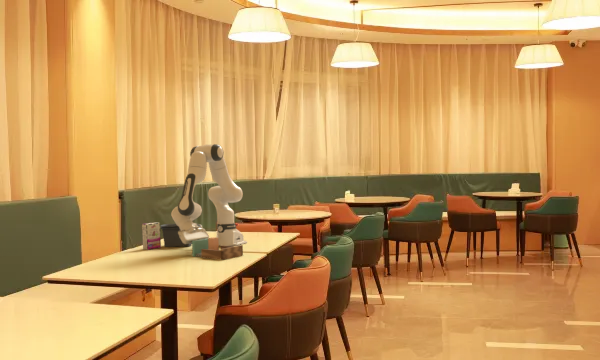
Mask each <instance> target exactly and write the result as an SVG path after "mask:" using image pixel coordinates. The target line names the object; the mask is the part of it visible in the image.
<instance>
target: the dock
mask: <svg viewBox="0 0 600 360" xmlns="http://www.w3.org/2000/svg"><path fill="white" fill-rule="evenodd" d="M243 245H244V244H241V245H234V246H224V245H221V246H220V249H219V250H210V249H201V257H200V258H202V259H209V260H210V259H211V260H221V261H223V260H229V259H232V258H233V257H234V258H237V257H242V255H243V256H244V253H243V252H244V249H243V248H244V247H243Z"/></svg>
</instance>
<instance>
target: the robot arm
mask: <svg viewBox="0 0 600 360" xmlns="http://www.w3.org/2000/svg"><path fill="white" fill-rule="evenodd" d="M224 152H225V151H224V149H223V147H222V146H221V145H220V144H215V143H214V144H202V145H195V146H194V147H192V148H191V150H190V153H189V155H190V156H189V157H190V158H189V163H188V168H187V175H186V176H185V180H184V184H183V189H182V194H181V197H180V199H179V202H178V203H177V206H175V207H174V208H172V211H171V213H170V215H171V217H172V220H173V222H174V224H176V225H177V226H179V228H180V230H181V231H178V234H179V237H180V239H181V241H182V242H183V243H184V244H189V243H192V241H196V240H202V239H208V238H210V236H209V233H208V232H207V231H206V229H205V228H203V225H202V224H200V223H197V222H193V221H195V220H196V219H198V218H199V217H200V216H201V215H202V213H203V208H202V205H200V204H199V203H197V202H195V201H194V200H193V195H194V190H195V187H196V185H197V184H200V183H202V182H203V181H204V180H205V178H206V175H207V167H208V168H209V171H210V175H211V178H212V181H213V182H215V183H216V184H217V185H216V186H212V187H210V188H209V189H208V192H207V195H208V196H207V197H208V199H209V200H210V201H211V202H212V203H213V205H214V206H215V209H216V210H215V211H216V215H217V223H216V229H217V231H216V236H215V237H217V238H218V241H219V246H220V247H221V245H224V246H239V245H240V244H241V245H244V244H247V243H248V241H247V240H245V239H244V235H243V233H242V232H241V231H240V230H239V229H237V227H239V225H240V224H239V223H237V222H236V223H235V211H234V210H233V209H232V208H231V207H230V206H229V203H231V204H233V203H239V202H240V201H241V200H242V199H243V196H244V195H243V194H244V193H243V192H244V191H243V190H242V188H241V187H240V186H238V185H237V184H236V183H235V182H234V181H233V179H232V178H231V176H230V173H229V170H228V166H227V163H226V160H225V157H224ZM207 163H208V164H207ZM207 165H208V166H207Z"/></svg>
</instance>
